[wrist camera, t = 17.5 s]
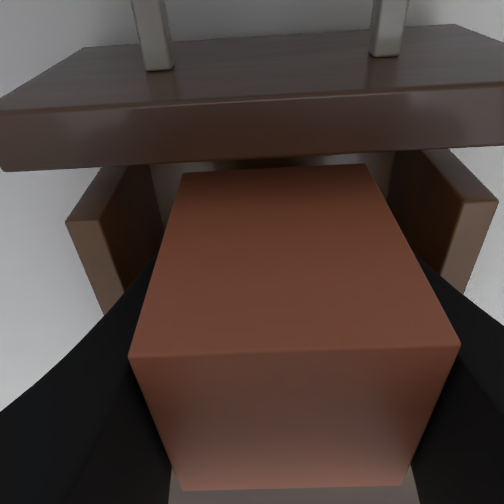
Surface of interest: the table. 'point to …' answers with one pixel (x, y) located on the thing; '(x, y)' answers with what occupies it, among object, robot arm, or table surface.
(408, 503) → the cabinet
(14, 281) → the table surface
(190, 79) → the drawer
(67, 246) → the table surface
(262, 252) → the block
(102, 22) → the table surface
